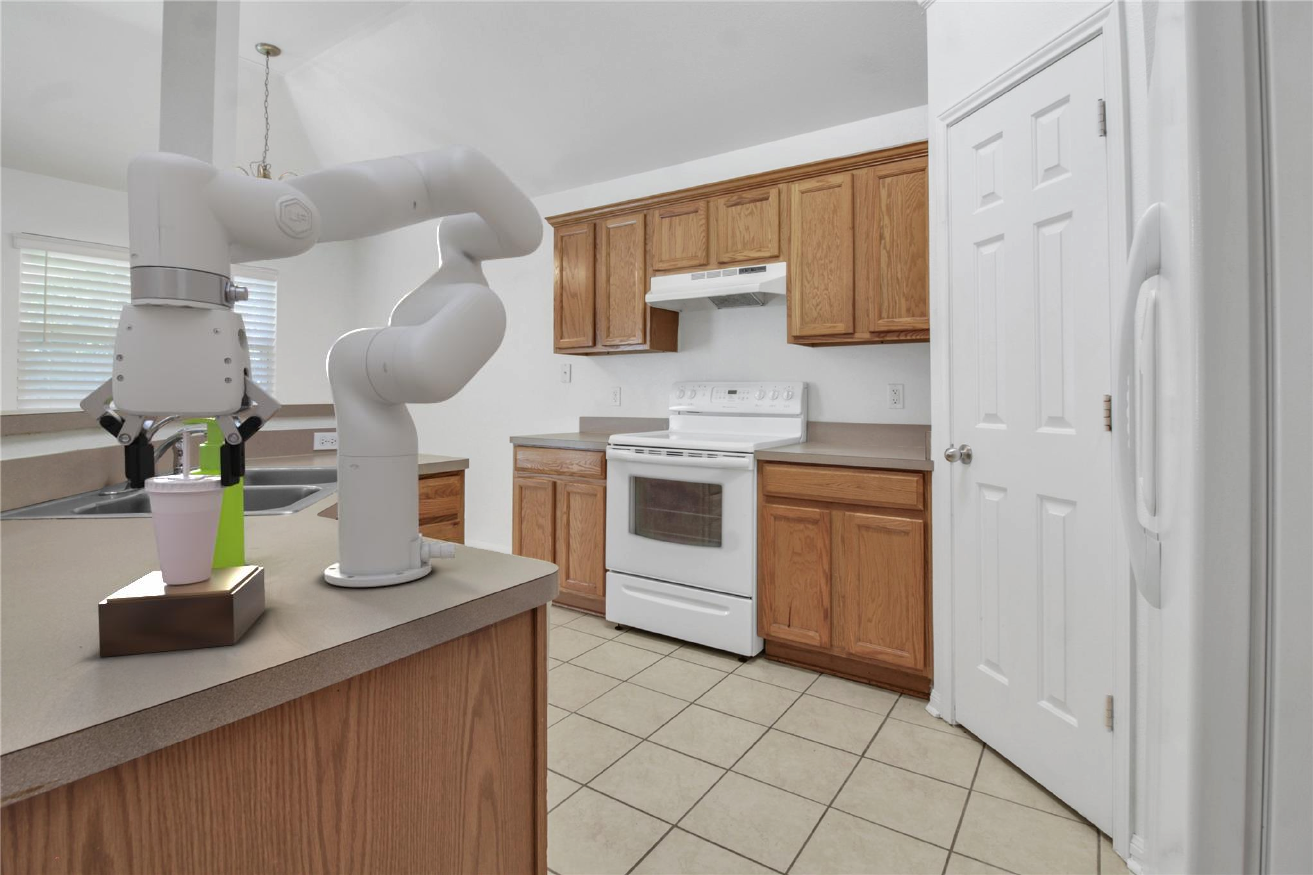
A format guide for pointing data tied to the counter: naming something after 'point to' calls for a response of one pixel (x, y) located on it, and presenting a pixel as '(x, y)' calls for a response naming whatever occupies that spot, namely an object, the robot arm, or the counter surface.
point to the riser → (181, 612)
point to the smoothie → (185, 521)
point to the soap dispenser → (223, 500)
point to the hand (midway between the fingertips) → (187, 484)
